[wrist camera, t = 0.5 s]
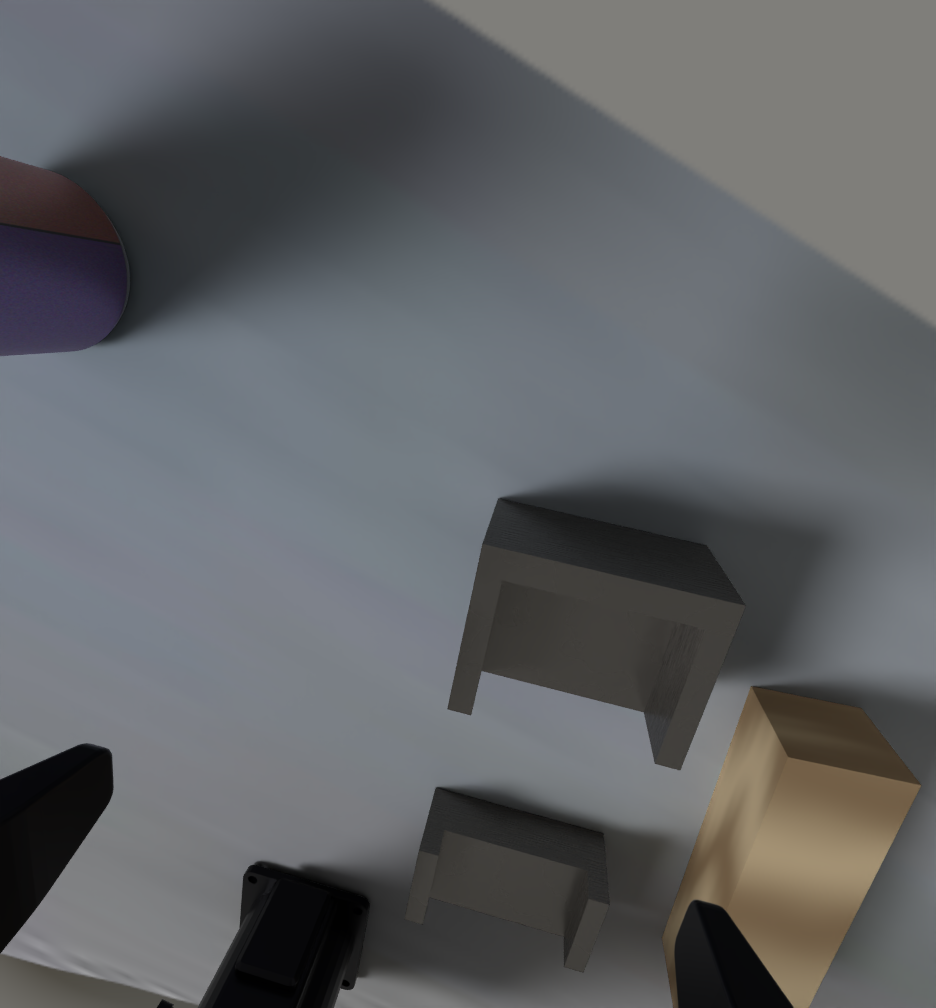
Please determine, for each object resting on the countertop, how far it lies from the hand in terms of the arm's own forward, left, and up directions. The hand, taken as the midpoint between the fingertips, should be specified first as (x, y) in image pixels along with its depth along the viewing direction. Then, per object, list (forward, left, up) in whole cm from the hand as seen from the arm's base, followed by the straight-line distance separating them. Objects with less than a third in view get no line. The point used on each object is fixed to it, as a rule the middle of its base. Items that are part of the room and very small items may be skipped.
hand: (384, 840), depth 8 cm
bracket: (-2, -4, -14) cm, 14 cm away
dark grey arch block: (-15, -4, -14) cm, 20 cm away
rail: (-11, -13, -14) cm, 22 cm away
